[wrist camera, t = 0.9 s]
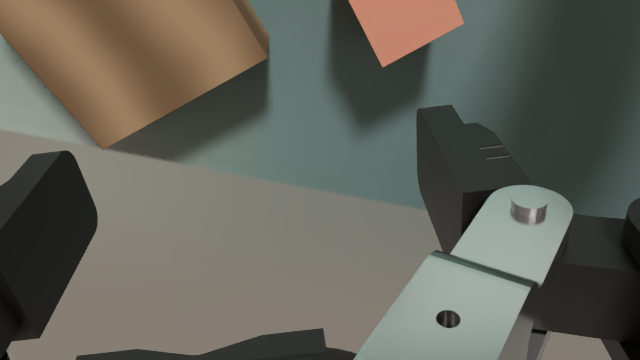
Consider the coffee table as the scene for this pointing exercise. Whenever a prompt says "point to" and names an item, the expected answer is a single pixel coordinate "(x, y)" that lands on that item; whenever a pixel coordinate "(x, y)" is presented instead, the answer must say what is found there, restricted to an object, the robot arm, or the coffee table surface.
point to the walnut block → (132, 54)
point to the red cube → (404, 24)
